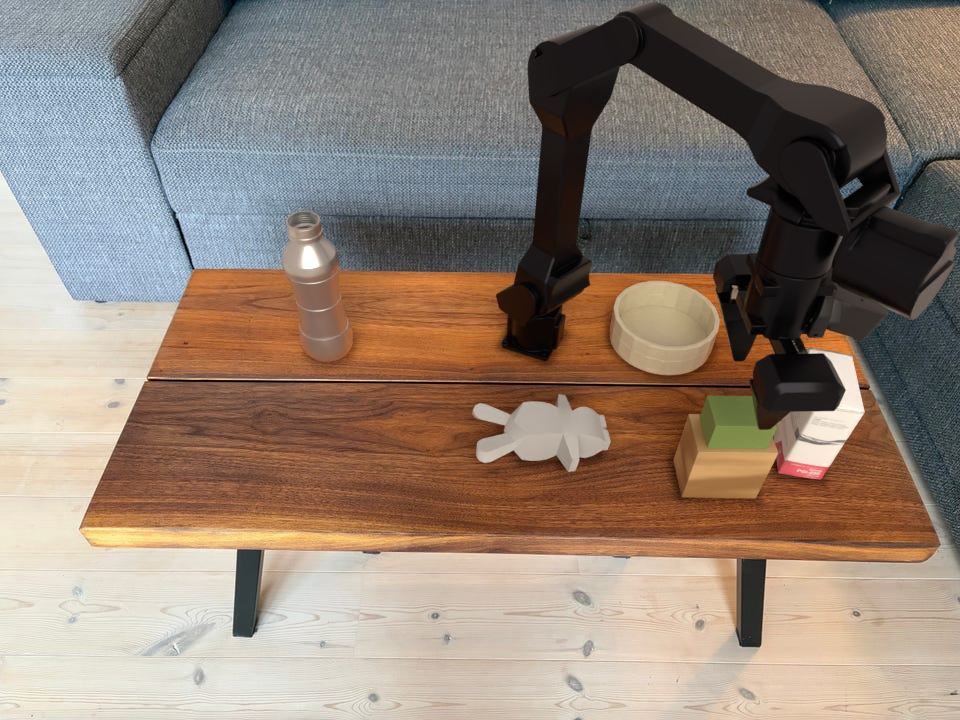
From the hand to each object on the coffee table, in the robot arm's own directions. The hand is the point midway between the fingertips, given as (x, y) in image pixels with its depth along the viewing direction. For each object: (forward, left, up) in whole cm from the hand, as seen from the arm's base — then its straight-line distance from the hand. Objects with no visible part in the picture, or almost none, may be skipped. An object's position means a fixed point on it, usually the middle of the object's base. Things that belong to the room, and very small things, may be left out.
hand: (750, 392), depth 69 cm
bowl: (-11, +19, -14) cm, 26 cm away
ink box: (+8, +8, -14) cm, 18 cm away
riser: (0, 0, -14) cm, 14 cm away
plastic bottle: (-49, -1, -14) cm, 51 cm away
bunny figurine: (-19, -4, -14) cm, 24 cm away
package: (0, 0, -6) cm, 6 cm away
